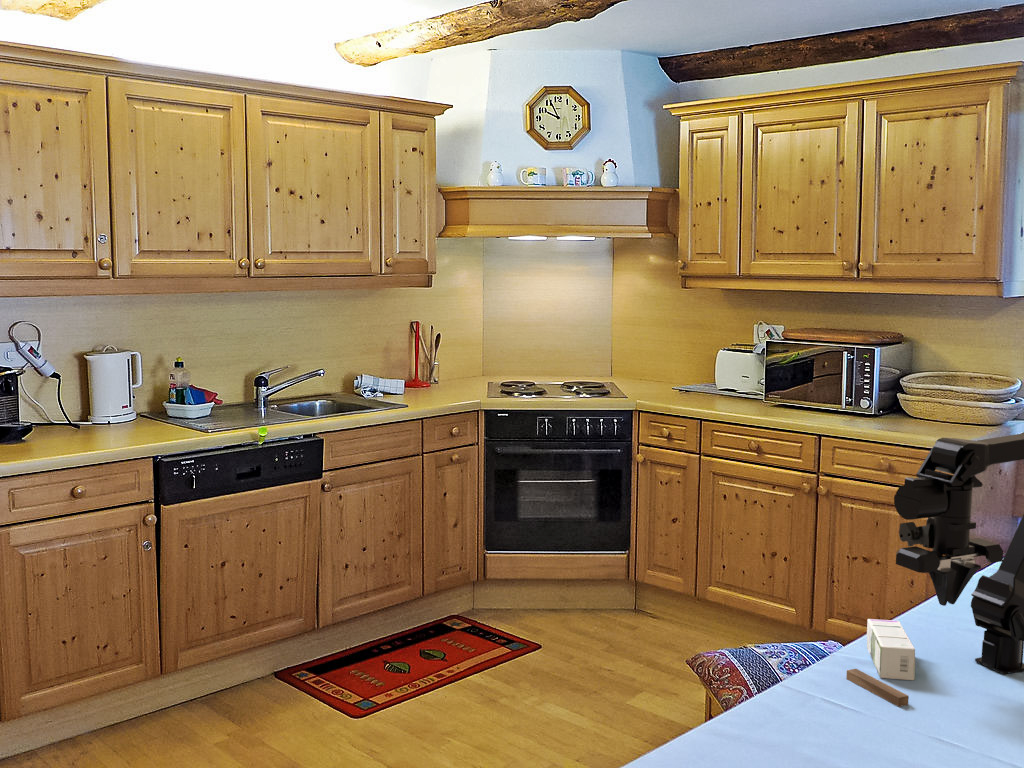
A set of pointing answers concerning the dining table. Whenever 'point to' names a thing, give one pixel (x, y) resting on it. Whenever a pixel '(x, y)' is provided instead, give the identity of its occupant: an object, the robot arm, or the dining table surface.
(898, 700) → the strip
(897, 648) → the syrup box
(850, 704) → the dining table surface
